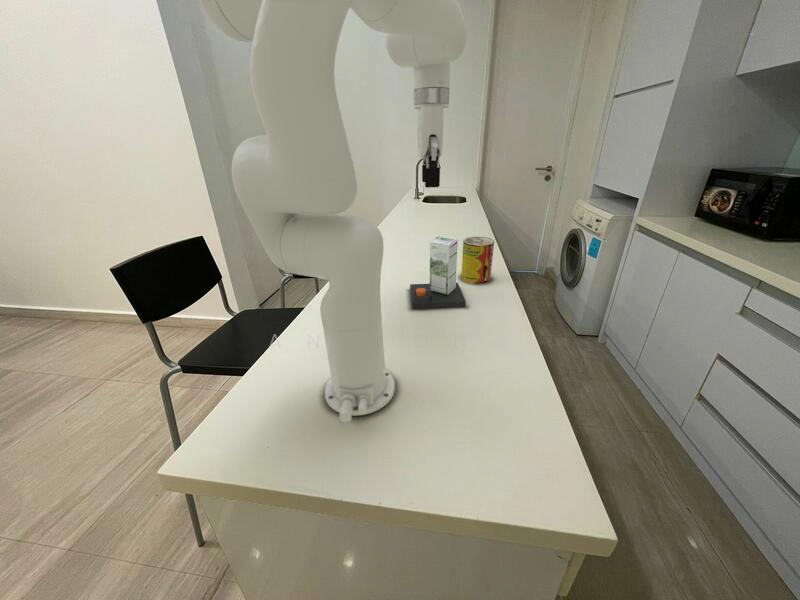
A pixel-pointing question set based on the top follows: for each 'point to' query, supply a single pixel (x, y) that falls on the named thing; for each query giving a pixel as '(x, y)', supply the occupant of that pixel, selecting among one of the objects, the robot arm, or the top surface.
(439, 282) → the syrup box
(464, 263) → the yellow red tin can
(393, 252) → the top surface
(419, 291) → the button
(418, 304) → the scale
